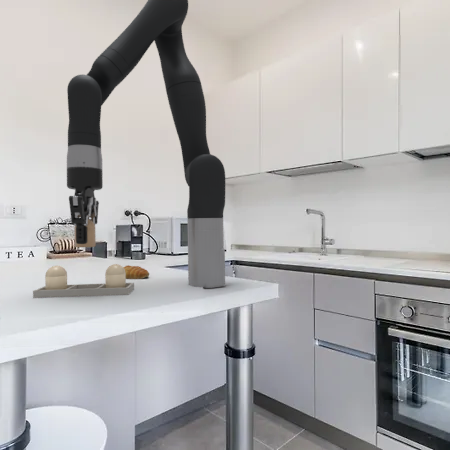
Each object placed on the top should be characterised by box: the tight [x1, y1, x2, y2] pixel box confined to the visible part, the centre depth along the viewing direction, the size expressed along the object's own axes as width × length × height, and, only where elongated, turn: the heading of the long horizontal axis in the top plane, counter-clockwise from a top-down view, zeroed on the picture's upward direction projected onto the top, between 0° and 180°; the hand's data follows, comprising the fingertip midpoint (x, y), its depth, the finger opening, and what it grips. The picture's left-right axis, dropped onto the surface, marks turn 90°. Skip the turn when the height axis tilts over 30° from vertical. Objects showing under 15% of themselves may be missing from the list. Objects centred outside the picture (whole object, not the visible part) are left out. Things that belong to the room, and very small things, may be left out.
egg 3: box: [104, 263, 127, 288], centre depth 79 cm, size 4×4×6 cm
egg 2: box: [74, 218, 97, 248], centre depth 78 cm, size 4×4×6 cm
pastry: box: [122, 264, 150, 280], centre depth 105 cm, size 9×7×4 cm
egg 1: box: [44, 265, 68, 290], centre depth 77 cm, size 4×4×6 cm
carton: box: [32, 282, 135, 299], centre depth 78 cm, size 20×7×2 cm, turn 95°
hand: (85, 242), depth 78 cm, fingers closed on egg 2, 4 cm apart
